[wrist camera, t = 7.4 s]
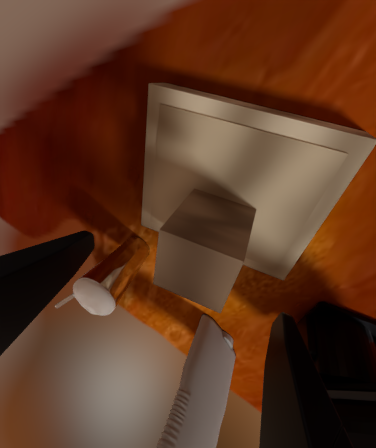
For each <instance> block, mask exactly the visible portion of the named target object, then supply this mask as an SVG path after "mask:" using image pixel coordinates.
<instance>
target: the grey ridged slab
mask: <svg viewBox="0 0 376 448" xmlns="http://www.w3.org/2000/svg"><path fill="white" fill-rule="evenodd" d="M232 346H233V339H232V337H231V336H230V335H229V334H227V333H226V332H224V331H222V329H221V328H220V326H219V325H218V324H217V323H216V322H215V320H214V319H213V318H212V317H210V316H209V315H206V314H203V315H202V317H201V319H200V322H199V325H198V328H197V331H196V333H195V336H194V339H193V342H192V344H191V347H190V350H189V353H188V356H187V359H186V362H185V364H184V368H183V372H182V378H181V382H180V387H179V390H178V391H177V395H176V396H175V400H174V405H172V409H171V410H170V414H169V418H168V419H167V424H166V425H165V427H164V432H162V438H161V439H160V440H159V442H158V444H157V448H216V444H217V440H218V435H219V430H220V425H221V422H222V419H223V416H224V413H225V409H226V403H227V399H228V393H229V388H230V383H231V378H232V372H233V367H234V362H235V357H236V354H235V352H234V349H233V347H232Z"/></svg>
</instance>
